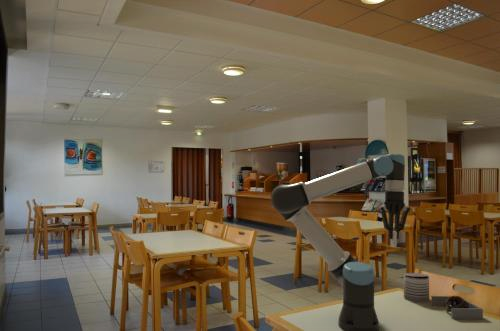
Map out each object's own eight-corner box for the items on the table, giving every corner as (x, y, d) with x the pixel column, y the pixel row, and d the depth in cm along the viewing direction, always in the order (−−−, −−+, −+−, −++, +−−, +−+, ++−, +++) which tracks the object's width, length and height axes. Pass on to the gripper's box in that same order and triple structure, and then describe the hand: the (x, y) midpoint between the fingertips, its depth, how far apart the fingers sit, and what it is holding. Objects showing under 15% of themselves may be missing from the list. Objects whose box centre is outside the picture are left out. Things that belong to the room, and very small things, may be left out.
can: (406, 301, 183) (406, 275, 184) (401, 294, 195) (401, 270, 195) (432, 303, 181) (432, 277, 182) (426, 296, 192) (425, 271, 193)
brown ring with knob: (477, 318, 163) (470, 302, 162) (455, 327, 165) (448, 311, 163) (463, 302, 175) (456, 287, 174) (442, 310, 176) (436, 295, 175)
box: (452, 319, 161) (452, 309, 161) (431, 304, 179) (431, 296, 179) (482, 319, 161) (482, 309, 161) (458, 305, 179) (458, 296, 179)
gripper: (406, 190, 171) (404, 245, 170) (376, 189, 170) (375, 244, 170) (413, 191, 163) (412, 248, 163) (382, 190, 163) (381, 247, 162)
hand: (393, 246), depth 166 cm, fingers closed
